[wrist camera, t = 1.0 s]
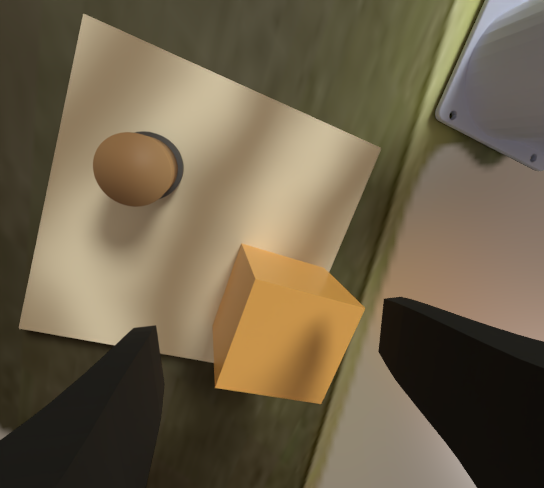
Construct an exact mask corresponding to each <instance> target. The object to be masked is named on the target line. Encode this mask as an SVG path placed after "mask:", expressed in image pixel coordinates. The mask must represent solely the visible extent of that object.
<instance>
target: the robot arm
mask: <svg viewBox="0 0 544 488" xmlns="http://www.w3.org/2000/svg"><path fill="white" fill-rule="evenodd" d="M450 113H452V118H451V119H450V117H449V115H450ZM435 117H436V119H437V120H438V121H440V122H442V123H444V124H446V125H448V126H450V127H451V128H453V129H455V130H457V131H459V132H461V133H463V134H465V135H467V136H469V137H471V138H473V139H475V140H477V141H479V142H481V143H483V144H484V145H486V146H488V147H490V148H492V149H494V150H496V151H498V152H500V153H502V154H504V155H506V156H508V157H510V158H512V159H514V160H515V161H517V162H519V163H521V164H523V165H525V166H527V167H529V168H531V169H533V170H535V171H543V170H544V0H485V1H484V3H483V6H482V8H481V10H480V12H479V15H478V17H477V19H476V21H475V23H474V26H473V28H472V30H471V32H470V35H469V37H468V39H467V41H466V44H465V46H464V48H463V50H462V53H461V55H460V57H459V59H458V61H457V64H456V66H455V68H454V70H453V73H452V75H451V77H450V79H449V82H448V84H447V86H446V88H445V90H444V93H443V95H442V97H441V99H440V102H439V104H438V106H437V108H436V111H435ZM530 157H531V159H530ZM379 353H380V355H381V357H382V359H383V360H384V362H385V364H386V365H387V367H388V369H389V370H390V372H391V374H392V375H393V377H394V378H395V380H396V381H397V382H398V384H399V385H400V386H401V387H402V389H403V390H404V391H405V393H406V394H407V395H408V396H409V397H410V399H411V400H412V401H413V403H414V404H415V405H416V406H417V407H418V409H419V410H420V411H421V413H422V414H423V415H424V416H425V418H426V419H427V420H428V421H429V422H430V424H431V425H432V426H433V427H434V429H435V430H436V431H437V432H438V434H439V435H440V436H441V437H442V439H443V440H444V441H445V442H446V444H447V445H448V446H449V448H450V449H451V450H452V451H453V453H454V454H455V456H456V457H457V458H458V460H459V461H460V462H461V464H462V466H463V467H464V469H465V470H466V472H467V473H468V475H469V476H470V478H471V479H472V480H473V482H474V484H475V485H476V487H477V488H544V342H543V341H539V340H535V339H531V338H528V337H524V336H521V335H517V334H514V333H511V332H508V331H505V330H501V329H498V328H495V327H492V326H489V325H486V324H483V323H479V322H477V321H474V320H471V319H468V318H465V317H462V316H459V315H456V314H454V313H451V312H448V311H445V310H442V309H439V308H436V307H433V306H430V305H428V304H425V303H421V302H418V301H415V300H412V299H408V298H403V297H396V298H387V299H384V304H383V315H382V324H381V333H380V343H379ZM163 394H164V377H163V370H162V363H161V356H160V349H159V341H158V334H157V327H156V325H154V326H145V327H136V328H133V329H132V330H131V331H130V332H128V333H127V334H126V335H125V336H124V337H123V338H122V339H121V340H120V341H119V342H118V343H117V344H116V345H115V346H114V347H113V348H112V349H111V350H109V351H108V352H107V353H106V354H105V355H104V356H103V357H102V358H101V359H100V360H99V361H98V362H97V363H96V364H94V365H93V366H92V367H91V368H90V369H89V370H88V371H87V372H86V373H85V374H83V375H82V376H81V377H80V378H79V379H78V380H76V381H75V382H74V383H73V384H72V385H71V386H69V387H68V388H67V389H66V390H65V391H63V392H62V393H61V394H60V395H59V396H58V397H56V398H55V399H54V400H53V401H52V402H50V403H49V404H48V405H47V406H45V407H44V408H43V409H42V410H40V411H39V412H38V413H37V414H35V415H34V416H33V417H31V418H30V419H29V420H27V421H26V422H25V423H23V424H22V425H21V426H19V427H18V428H16V429H15V430H14V431H12V432H11V433H10V434H8V435H7V436H6V437H4V438H3V439H1V440H0V488H146V484H147V480H148V476H149V471H150V467H151V462H152V458H153V453H154V449H155V444H156V440H157V435H158V430H159V426H160V421H161V414H162V405H163Z"/></svg>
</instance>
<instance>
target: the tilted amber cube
mask: <svg viewBox="0 0 544 488" xmlns="http://www.w3.org/2000/svg"><path fill="white" fill-rule="evenodd" d="M364 310H365V307H364V306H363V305H362V304H361V303H360V302H359V301H357V300H356V299H355V298H354V297H353V296H352V295H351V294H350V293H349V292H348V291H347V290H346V289H345V288H344V287H343V286H342V285H341V284H340V283H339V282H338V281H337V280H336V279H335V278H334V277H333V276H332V275H331V274H330V273H329V272H328V271H327V270H326V269H325V268H323V267H319V266H316V265H313V264H309V263H306V262H302V261H299V260H296V259H292V258H289V257H286V256H282V255H279V254H276V253H272V252H269V251H265V250H262V249H259V248H255V247H252V246H249V245H245V244H242V243H241V246H240V249H239V252H238V255H237V257H236V260H235V263H234V266H233V269H232V272H231V275H230V277H229V280H228V283H227V286H226V289H225V292H224V294H223V297H222V300H221V303H220V306H219V309H218V312H217V314H216V317H215V320H214V323H213V350H214V375H215V388H219V389H226V390H233V391H239V392H246V393H252V394H259V395H265V396H272V397H278V398H285V399H291V400H298V401H304V402H311V403H317V404H321V403H322V401H323V399H324V397H325V395H326V392H327V390H328V388H329V386H330V384H331V382H332V379H333V377H334V375H335V373H336V371H337V369H338V366H339V364H340V362H341V360H342V358H343V356H344V353H345V351H346V349H347V347H348V345H349V343H350V341H351V338H352V336H353V334H354V332H355V330H356V328H357V325H358V323H359V321H360V319H361V317H362V315H363V312H364Z"/></svg>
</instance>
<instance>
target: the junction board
mask: <svg viewBox="0 0 544 488" xmlns="http://www.w3.org/2000/svg"><path fill="white" fill-rule="evenodd" d="M380 151H381V148H380V147H378V146H375V145H373V144H371V143H369V142H367V141H364V140H362V139H360V138H358V137H355V136H353V135H351V134H349V133H347V132H344V131H342V130H340V129H338V128H336V127H333V126H331V125H329V124H327V123H324V122H322V121H320V120H318V119H316V118H313V117H311V116H309V115H307V114H305V113H302V112H300V111H298V110H296V109H293V108H291V107H289V106H287V105H285V104H282V103H280V102H278V101H276V100H274V99H271V98H269V97H267V96H265V95H262V94H260V93H258V92H256V91H254V90H251V89H249V88H247V87H245V86H243V85H240V84H238V83H236V82H234V81H231V80H229V79H227V78H225V77H223V76H220V75H218V74H216V73H214V72H212V71H209V70H207V69H205V68H203V67H200V66H198V65H196V64H194V63H192V62H189V61H187V60H185V59H183V58H181V57H178V56H176V55H174V54H172V53H169V52H167V51H165V50H163V49H161V48H158V47H156V46H154V45H152V44H150V43H147V42H145V41H143V40H141V39H138V38H136V37H134V36H132V35H130V34H127V33H125V32H123V31H121V30H119V29H116V28H114V27H112V26H110V25H107V24H105V23H103V22H101V21H99V20H96V19H94V18H92V17H90V16H88V15H85V14H83V18H82V23H81V27H80V32H79V37H78V42H77V47H76V52H75V57H74V62H73V66H72V71H71V76H70V81H69V86H68V91H67V96H66V101H65V105H64V110H63V115H62V120H61V125H60V130H59V135H58V139H57V144H56V149H55V154H54V159H53V164H52V169H51V174H50V178H49V183H48V188H47V193H46V198H45V203H44V208H43V213H42V217H41V222H40V227H39V232H38V237H37V242H36V247H35V251H34V256H33V261H32V266H31V271H30V276H29V281H28V286H27V290H26V295H25V300H24V305H23V310H22V315H21V320H20V325H19V329H25V330H30V331H36V332H42V333H47V334H53V335H59V336H64V337H70V338H76V339H81V340H87V341H93V342H98V343H104V344H110V345H116V344H117V343H118V342H119V341H120V340H121V339H122V338H123V337H124V336H125V335H126V334H127V333H128V332H130V331H131V330H132V329H133V328H136V327H145V326H154V325H156V327H157V334H158V341H159V349H160V353H161V354H166V355H172V356H177V357H183V358H189V359H194V360H200V361H206V362H211V363H214V350H213V323H214V320H215V317H216V314H217V312H218V309H219V306H220V303H221V300H222V297H223V294H224V292H225V289H226V286H227V283H228V280H229V277H230V275H231V272H232V269H233V266H234V263H235V260H236V257H237V255H238V252H239V249H240V246H241V243H242V244H245V245H249V246H252V247H255V248H259V249H262V250H265V251H269V252H272V253H276V254H279V255H282V256H286V257H289V258H292V259H296V260H299V261H302V262H306V263H309V264H313V265H316V266H319V267H323V268H325V269H326V270H327V271H328V272H329V271H330V269H331V266H332V264H333V262H334V259H335V257H336V255H337V252H338V250H339V248H340V245H341V243H342V240H343V238H344V236H345V233H346V231H347V229H348V226H349V224H350V222H351V219H352V217H353V214H354V212H355V210H356V207H357V205H358V203H359V200H360V198H361V196H362V193H363V191H364V188H365V186H366V184H367V181H368V179H369V177H370V174H371V172H372V170H373V167H374V165H375V162H376V160H377V158H378V155H379V153H380Z"/></svg>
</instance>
